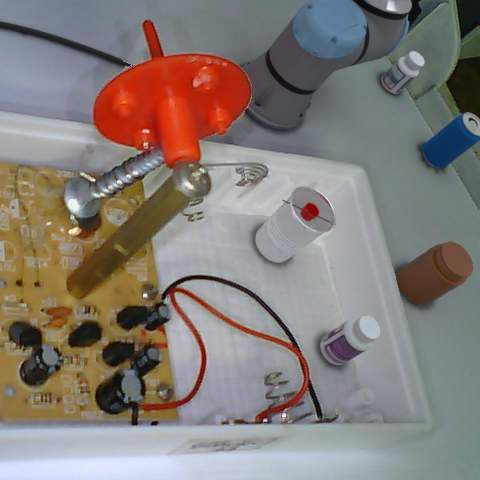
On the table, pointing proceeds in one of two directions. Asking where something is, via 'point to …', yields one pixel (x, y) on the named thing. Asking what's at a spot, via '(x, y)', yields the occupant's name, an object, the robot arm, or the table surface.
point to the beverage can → (452, 140)
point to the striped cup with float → (295, 224)
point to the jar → (435, 273)
